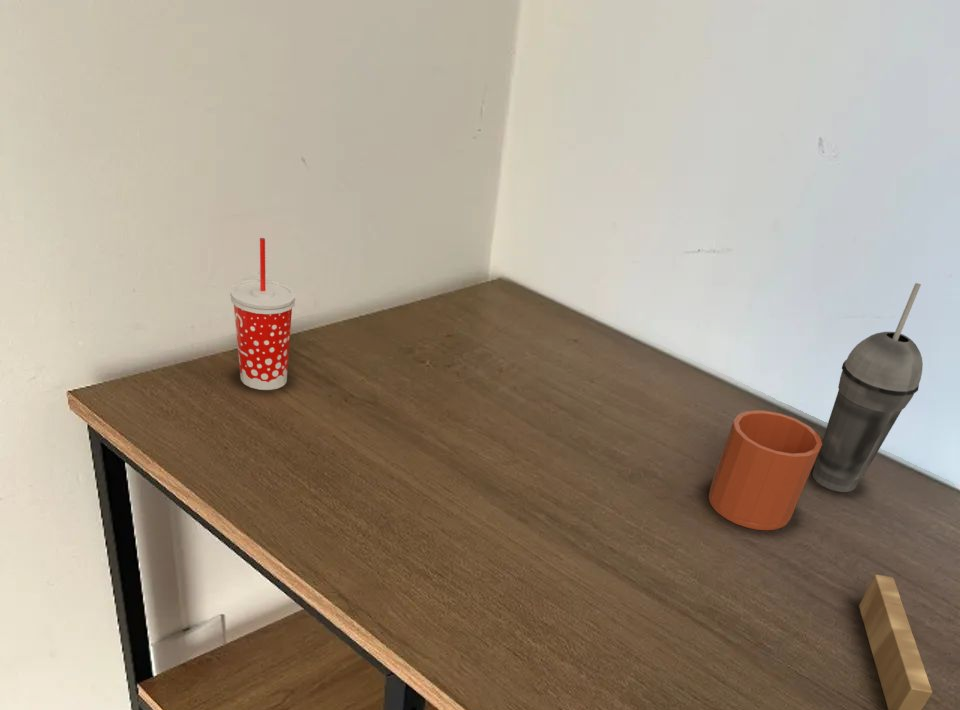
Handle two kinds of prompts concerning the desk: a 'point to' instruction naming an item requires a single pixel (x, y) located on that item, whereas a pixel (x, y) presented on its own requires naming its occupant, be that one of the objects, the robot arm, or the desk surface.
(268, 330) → the beverage cup
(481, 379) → the desk surface
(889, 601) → the wooden block
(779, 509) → the utensil cup
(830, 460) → the beverage cup
